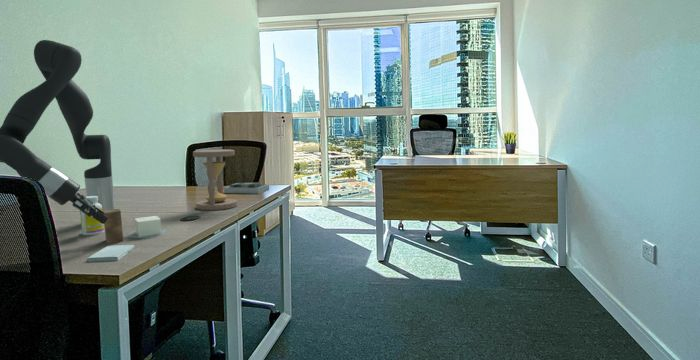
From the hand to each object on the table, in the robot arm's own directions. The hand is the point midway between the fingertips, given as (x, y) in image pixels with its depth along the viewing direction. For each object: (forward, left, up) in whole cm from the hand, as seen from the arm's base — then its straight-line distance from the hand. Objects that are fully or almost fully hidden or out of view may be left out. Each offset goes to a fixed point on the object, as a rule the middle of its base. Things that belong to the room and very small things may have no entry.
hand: (104, 219), depth 140 cm
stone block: (-1, +104, -8) cm, 104 cm away
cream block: (+7, +12, -7) cm, 15 cm away
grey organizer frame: (-1, +106, -8) cm, 106 cm away
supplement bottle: (-13, +10, -8) cm, 18 cm away
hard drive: (+11, -11, -8) cm, 17 cm away
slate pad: (+6, +12, -8) cm, 15 cm away
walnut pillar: (+2, +2, -8) cm, 8 cm away
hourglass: (+5, +62, -8) cm, 62 cm away
